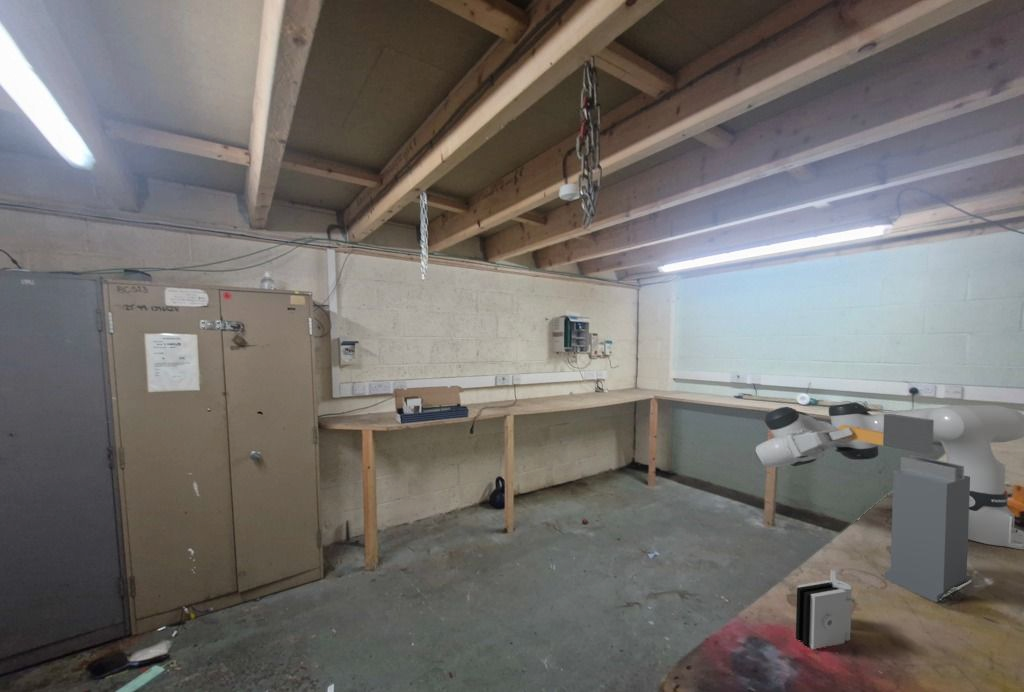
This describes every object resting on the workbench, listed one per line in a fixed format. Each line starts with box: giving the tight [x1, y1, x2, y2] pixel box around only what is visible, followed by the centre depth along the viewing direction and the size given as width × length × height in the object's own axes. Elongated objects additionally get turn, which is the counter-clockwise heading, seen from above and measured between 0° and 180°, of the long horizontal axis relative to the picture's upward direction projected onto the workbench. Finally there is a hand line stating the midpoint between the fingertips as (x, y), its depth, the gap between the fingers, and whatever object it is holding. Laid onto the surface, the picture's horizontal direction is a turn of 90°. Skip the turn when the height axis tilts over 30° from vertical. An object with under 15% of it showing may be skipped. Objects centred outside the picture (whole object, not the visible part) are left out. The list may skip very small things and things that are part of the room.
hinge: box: [795, 569, 853, 650], centre depth 74 cm, size 14×5×10 cm, turn 116°
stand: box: [883, 454, 973, 603], centre depth 91 cm, size 18×9×29 cm, turn 114°
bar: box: [839, 414, 934, 455], centre depth 99 cm, size 3×18×8 cm, turn 23°
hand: (856, 430), depth 104 cm, fingers closed on bar, 3 cm apart
